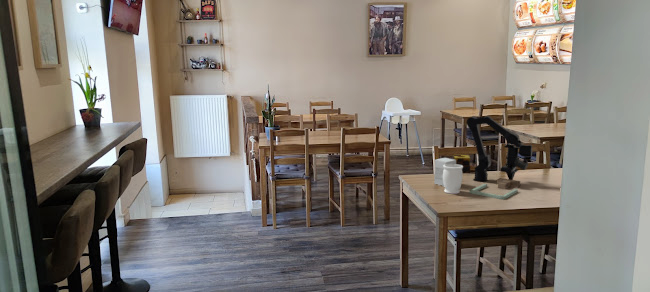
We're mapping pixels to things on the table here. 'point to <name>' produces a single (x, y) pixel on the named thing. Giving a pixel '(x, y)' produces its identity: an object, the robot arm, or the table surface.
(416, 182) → the table surface
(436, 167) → the supplement box
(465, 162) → the yellow and brown box
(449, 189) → the jar
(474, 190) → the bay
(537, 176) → the table surface
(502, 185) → the t block
